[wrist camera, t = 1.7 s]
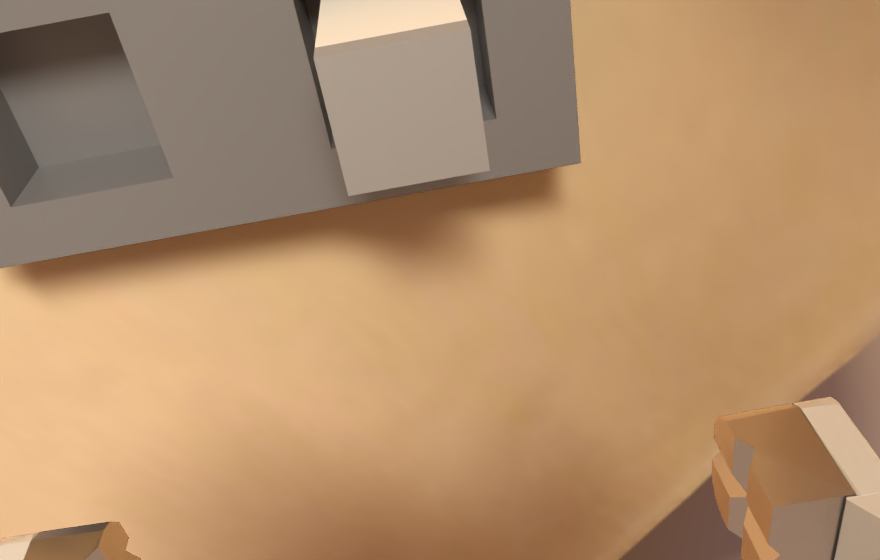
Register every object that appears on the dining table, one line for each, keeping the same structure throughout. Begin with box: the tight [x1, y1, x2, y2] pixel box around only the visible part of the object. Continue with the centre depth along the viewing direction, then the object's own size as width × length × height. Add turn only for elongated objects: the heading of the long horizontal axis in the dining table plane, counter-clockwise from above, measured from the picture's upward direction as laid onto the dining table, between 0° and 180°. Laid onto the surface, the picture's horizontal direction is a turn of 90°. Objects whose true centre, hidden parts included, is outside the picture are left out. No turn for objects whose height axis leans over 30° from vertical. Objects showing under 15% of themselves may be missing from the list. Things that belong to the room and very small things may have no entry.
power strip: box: [0, 0, 581, 268], centre depth 28 cm, size 22×10×4 cm, turn 99°
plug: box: [313, 0, 490, 196], centre depth 25 cm, size 4×4×8 cm
